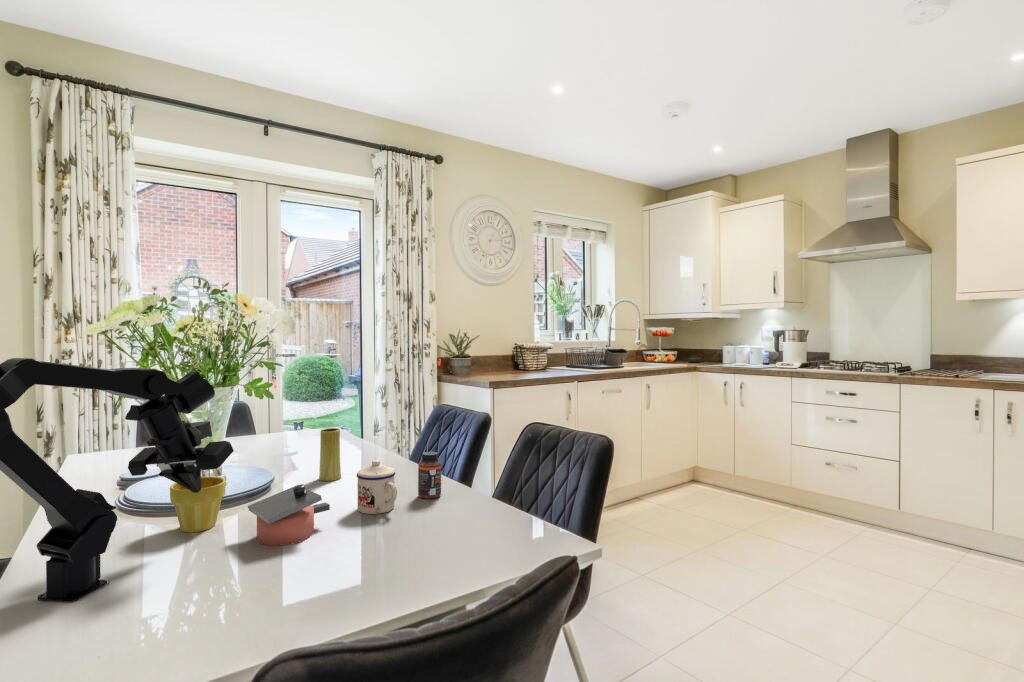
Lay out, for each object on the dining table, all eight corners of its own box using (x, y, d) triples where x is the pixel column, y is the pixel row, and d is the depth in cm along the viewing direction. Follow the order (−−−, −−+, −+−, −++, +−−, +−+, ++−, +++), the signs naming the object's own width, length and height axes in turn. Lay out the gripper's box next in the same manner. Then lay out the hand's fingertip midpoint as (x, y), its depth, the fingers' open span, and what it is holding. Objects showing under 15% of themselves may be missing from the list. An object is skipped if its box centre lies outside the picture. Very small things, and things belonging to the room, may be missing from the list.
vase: (318, 477, 155) (318, 428, 155) (339, 474, 158) (339, 427, 157) (320, 482, 150) (320, 432, 149) (342, 480, 152) (342, 430, 152)
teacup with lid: (348, 509, 127) (348, 461, 127) (379, 500, 134) (380, 454, 134) (379, 520, 120) (379, 469, 119) (410, 510, 127) (411, 462, 127)
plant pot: (200, 538, 109) (200, 491, 109) (158, 534, 111) (157, 487, 111) (236, 520, 119) (236, 477, 119) (196, 517, 121) (196, 474, 121)
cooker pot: (269, 550, 103) (269, 525, 103) (248, 535, 111) (248, 511, 111) (339, 530, 114) (339, 507, 113) (316, 517, 121) (316, 496, 121)
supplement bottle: (439, 499, 135) (439, 455, 135) (416, 499, 135) (416, 455, 135) (442, 492, 141) (442, 450, 141) (420, 492, 141) (420, 450, 141)
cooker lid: (269, 524, 103) (266, 511, 103) (248, 510, 111) (245, 498, 110) (321, 500, 111) (319, 488, 110) (299, 488, 118) (296, 478, 118)
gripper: (233, 400, 107) (260, 462, 113) (150, 408, 109) (181, 469, 115) (200, 432, 97) (232, 498, 103) (109, 441, 99) (145, 505, 105)
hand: (197, 491), depth 107 cm, fingers closed
